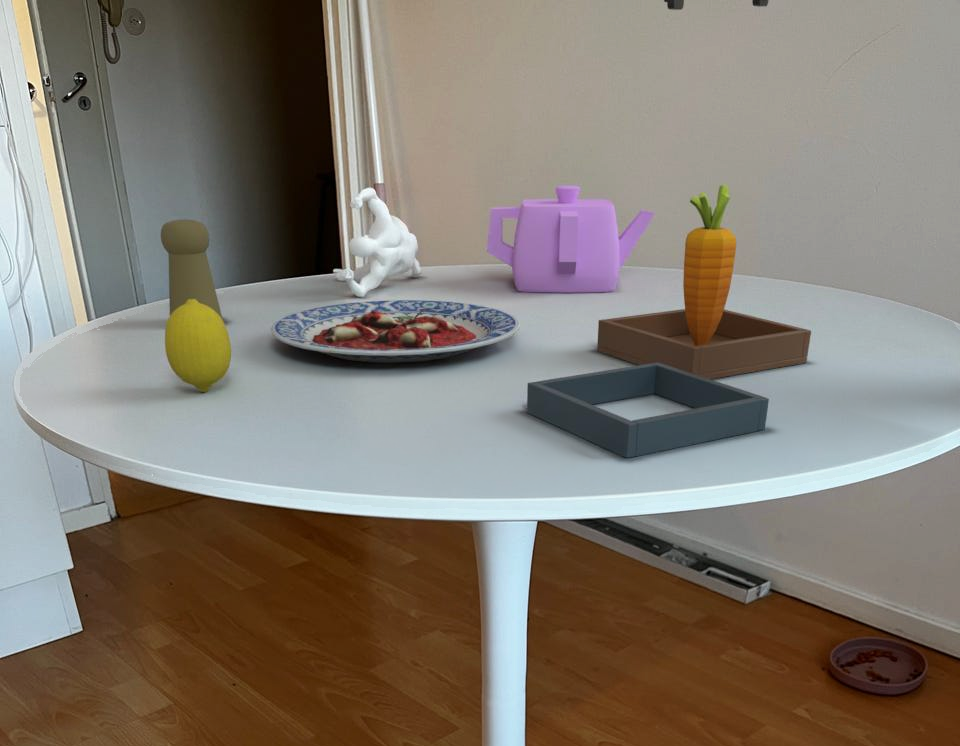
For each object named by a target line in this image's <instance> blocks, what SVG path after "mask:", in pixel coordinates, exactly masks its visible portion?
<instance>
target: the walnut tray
mask: <svg viewBox="0 0 960 746" xmlns="http://www.w3.org/2000/svg"><path fill="white" fill-rule="evenodd" d="M597 325H598V327H597V347H596V348H597V349H596V351H597V352H599V353H601V354H604V355H608V356H610V357H614V358H616V359H618V360H619V359H620V360H622V361H625V362H628V363H632V364H635V365H636V366H638V365H644V364H652V363H657V362H658V363H661V364H664V365H667V366H671V367H674V368H677V369H680V370H683V371H686V372H689V373H692V374H695V375H698V376H701V377H704V378H707V379H711V380H714V379H720V378H725V377H731V376H738V375H742V374H748V373H749V374H750V373H754V372H761V371H767V370H773V369H779V368H783V367H789V366H797V365H801V364H802V365H803V364H807V363H808V355H809V348H810V343H811V336H812V335H811V334H812V330H811V329H808V328H807V329H806V328H803V327H799V326H795V325H790V324H786V323H783V322H777V321H773V320H769V319H766V318H763V317H762V318H761V317H757V316H753V315H750V314H745V313H741V312H736V311H732V310H728V309H725V308H724V311H723V314H722V317H721V320H720V322H719V324H718V326H717V328H716V331H715V333H714V334H713V336H712V338H711V339H710V341H709V343H708V344H704V345H698V346H695V345H694V342H693V340H692V337H691V334H690V331H689V327H688V323H687V319H686V313H685V308H681V309H675V310H667V311H658V312H651V313H644V314H635V315H628V316H622V317H621V316H620V317H613V318H606V319H605V318H604V319H598V324H597Z"/></svg>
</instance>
